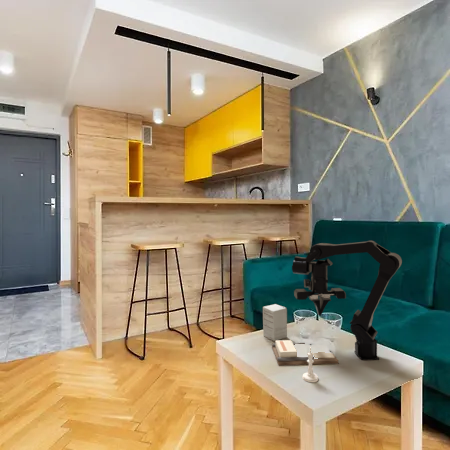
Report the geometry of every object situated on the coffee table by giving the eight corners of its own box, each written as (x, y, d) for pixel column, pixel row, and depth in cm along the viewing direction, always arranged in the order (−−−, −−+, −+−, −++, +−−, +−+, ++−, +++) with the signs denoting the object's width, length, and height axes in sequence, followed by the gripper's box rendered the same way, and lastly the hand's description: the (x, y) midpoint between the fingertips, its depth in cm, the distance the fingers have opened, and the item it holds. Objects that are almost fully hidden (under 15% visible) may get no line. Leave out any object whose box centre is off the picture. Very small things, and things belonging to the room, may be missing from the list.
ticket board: (325, 346, 129) (325, 341, 129) (338, 363, 115) (338, 357, 115) (272, 347, 129) (271, 342, 128) (278, 365, 115) (278, 359, 115)
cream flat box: (291, 346, 127) (291, 339, 126) (297, 358, 117) (297, 351, 116) (275, 346, 127) (275, 340, 126) (280, 358, 117) (280, 351, 116)
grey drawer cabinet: (276, 331, 145) (275, 303, 144) (287, 337, 138) (287, 307, 138) (262, 335, 141) (262, 306, 140) (273, 341, 135) (273, 311, 134)
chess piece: (318, 375, 107) (317, 345, 107) (318, 383, 103) (318, 351, 102) (302, 373, 108) (302, 343, 108) (302, 381, 104) (302, 350, 103)
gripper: (336, 271, 136) (336, 308, 137) (291, 272, 136) (291, 309, 137) (346, 277, 125) (346, 317, 126) (297, 278, 125) (297, 318, 126)
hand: (319, 315), depth 129 cm, fingers closed
